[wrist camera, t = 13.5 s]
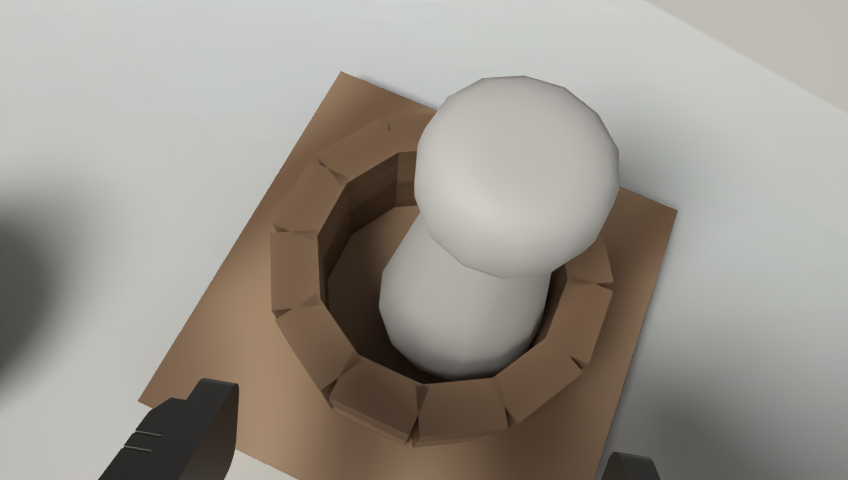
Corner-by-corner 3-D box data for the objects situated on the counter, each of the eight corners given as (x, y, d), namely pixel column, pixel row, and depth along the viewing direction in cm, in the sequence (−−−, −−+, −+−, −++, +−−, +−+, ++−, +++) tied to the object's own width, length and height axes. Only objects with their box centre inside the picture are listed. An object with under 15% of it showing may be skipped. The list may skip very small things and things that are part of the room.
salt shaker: (388, 239, 25) (397, 8, 13) (528, 254, 25) (662, 40, 13) (371, 385, 23) (363, 267, 11) (524, 400, 23) (682, 301, 11)
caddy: (662, 224, 28) (732, 158, 22) (544, 597, 22) (599, 632, 17) (342, 91, 30) (334, -2, 24) (151, 406, 24) (82, 380, 18)
